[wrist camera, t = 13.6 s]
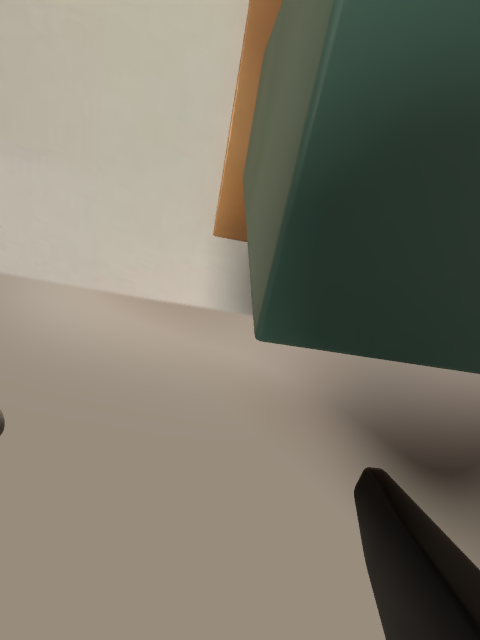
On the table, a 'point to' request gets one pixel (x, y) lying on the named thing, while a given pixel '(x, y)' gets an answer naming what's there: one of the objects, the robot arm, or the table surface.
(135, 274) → the table surface
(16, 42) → the table surface
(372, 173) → the clock
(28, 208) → the table surface
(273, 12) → the wooden board
